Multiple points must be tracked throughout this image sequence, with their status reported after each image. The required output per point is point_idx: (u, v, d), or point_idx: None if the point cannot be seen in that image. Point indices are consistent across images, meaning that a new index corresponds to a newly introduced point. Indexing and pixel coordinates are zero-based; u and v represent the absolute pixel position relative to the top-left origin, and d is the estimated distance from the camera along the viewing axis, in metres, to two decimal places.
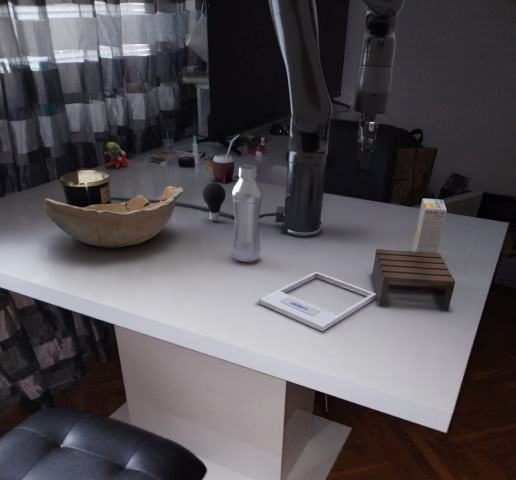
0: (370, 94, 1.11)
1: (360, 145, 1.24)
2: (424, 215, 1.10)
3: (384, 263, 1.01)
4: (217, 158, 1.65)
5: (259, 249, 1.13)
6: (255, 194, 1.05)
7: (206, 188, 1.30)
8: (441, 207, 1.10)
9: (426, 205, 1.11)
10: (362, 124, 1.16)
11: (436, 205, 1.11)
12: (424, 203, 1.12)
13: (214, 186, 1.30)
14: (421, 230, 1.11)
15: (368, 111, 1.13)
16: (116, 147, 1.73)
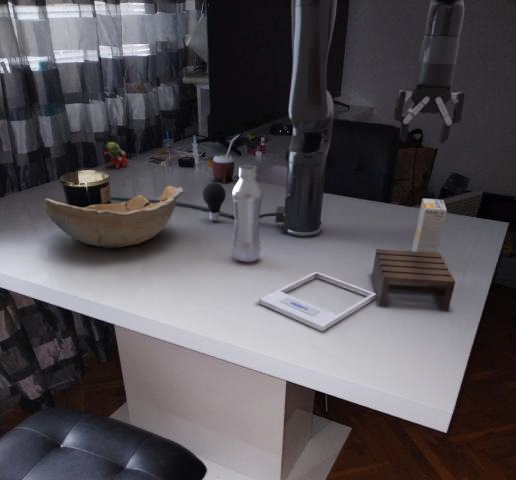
0: (418, 64, 1.10)
1: (442, 125, 1.16)
2: (424, 215, 1.10)
3: (384, 263, 1.01)
4: (217, 158, 1.65)
5: (259, 249, 1.13)
6: (255, 194, 1.05)
7: (206, 188, 1.30)
8: (441, 207, 1.10)
9: (426, 205, 1.11)
10: None
11: (436, 205, 1.11)
12: (424, 203, 1.12)
13: (214, 186, 1.30)
14: (421, 230, 1.11)
15: (415, 81, 1.12)
16: (116, 147, 1.73)
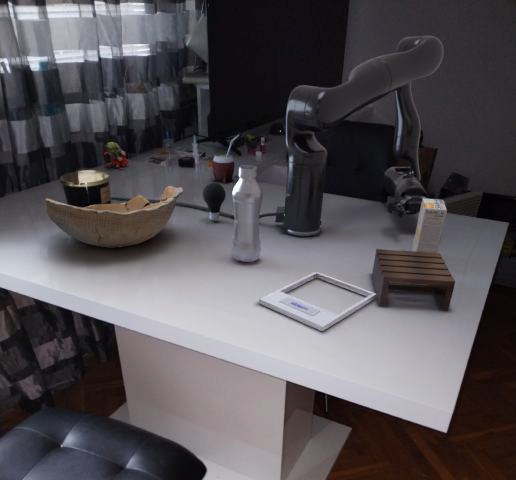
0: None
1: None
2: (424, 215, 1.10)
3: (384, 263, 1.01)
4: (217, 158, 1.65)
5: (259, 249, 1.13)
6: (255, 194, 1.05)
7: (206, 188, 1.30)
8: (441, 207, 1.10)
9: (426, 205, 1.11)
10: None
11: (436, 205, 1.11)
12: (424, 203, 1.12)
13: (214, 186, 1.30)
14: (421, 230, 1.11)
15: None
16: (116, 147, 1.73)
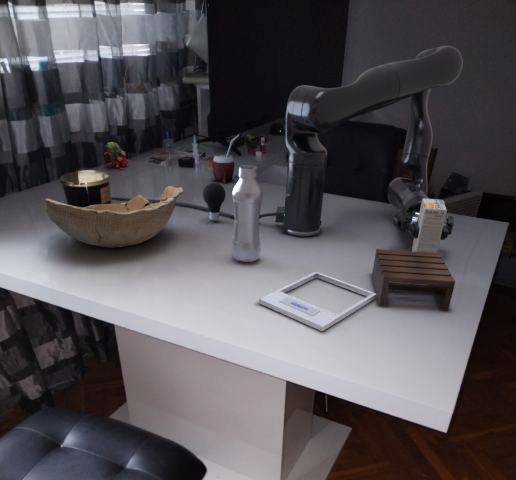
0: None
1: None
2: (424, 215, 1.10)
3: (384, 263, 1.01)
4: (217, 158, 1.65)
5: (259, 249, 1.13)
6: (255, 194, 1.05)
7: (206, 188, 1.30)
8: (441, 207, 1.10)
9: (426, 205, 1.11)
10: None
11: (436, 205, 1.11)
12: (424, 203, 1.12)
13: (214, 186, 1.30)
14: (421, 230, 1.11)
15: None
16: (116, 147, 1.73)
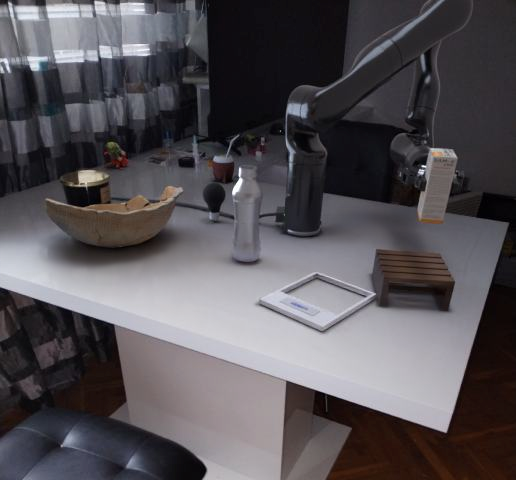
0: None
1: None
2: (432, 164, 0.99)
3: (384, 263, 1.01)
4: (217, 158, 1.65)
5: (259, 249, 1.13)
6: (255, 194, 1.05)
7: (206, 188, 1.30)
8: (451, 155, 0.99)
9: (434, 153, 1.00)
10: None
11: (445, 153, 1.00)
12: (432, 152, 1.01)
13: (214, 186, 1.30)
14: (429, 181, 1.00)
15: None
16: (116, 147, 1.73)
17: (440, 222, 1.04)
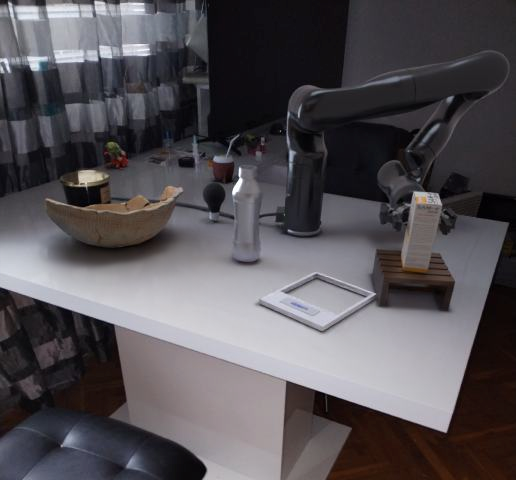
0: None
1: None
2: (415, 211, 0.92)
3: (384, 263, 1.01)
4: (217, 158, 1.65)
5: (259, 249, 1.13)
6: (255, 194, 1.05)
7: (206, 188, 1.30)
8: (435, 201, 0.92)
9: (418, 199, 0.93)
10: None
11: (430, 199, 0.93)
12: (415, 197, 0.95)
13: (214, 186, 1.30)
14: (412, 229, 0.94)
15: None
16: (116, 147, 1.73)
17: (424, 271, 0.97)
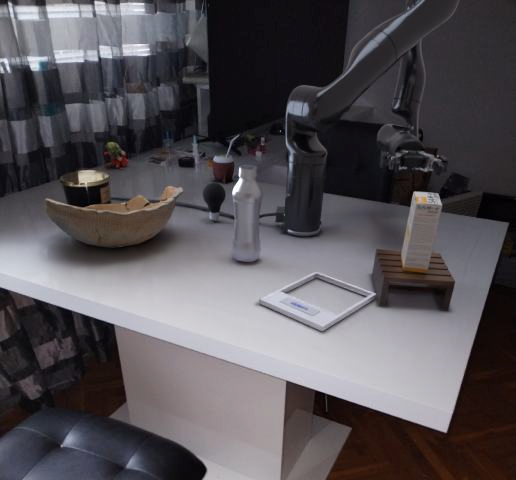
0: None
1: None
2: (415, 211, 0.92)
3: (384, 263, 1.01)
4: (217, 158, 1.65)
5: (259, 249, 1.13)
6: (255, 194, 1.05)
7: (206, 188, 1.30)
8: (435, 201, 0.92)
9: (418, 199, 0.93)
10: None
11: (430, 199, 0.93)
12: (415, 197, 0.95)
13: (214, 186, 1.30)
14: (412, 229, 0.94)
15: None
16: (116, 147, 1.73)
17: (424, 271, 0.97)
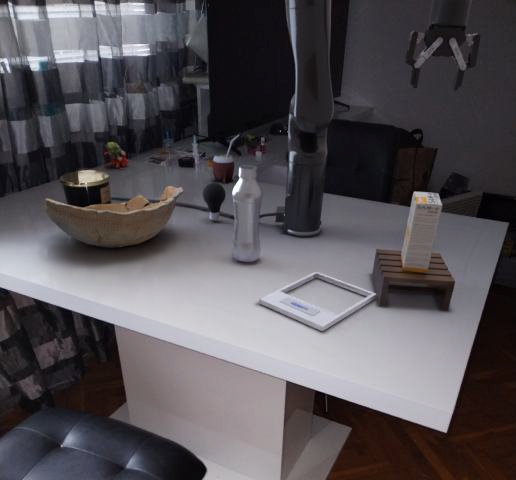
0: None
1: None
2: (415, 211, 0.92)
3: (384, 263, 1.01)
4: (217, 158, 1.65)
5: (259, 249, 1.13)
6: (255, 194, 1.05)
7: (206, 188, 1.30)
8: (435, 201, 0.92)
9: (418, 199, 0.93)
10: None
11: (430, 199, 0.93)
12: (415, 197, 0.95)
13: (214, 186, 1.30)
14: (412, 229, 0.94)
15: (466, 23, 1.04)
16: (116, 147, 1.73)
17: (424, 271, 0.97)
